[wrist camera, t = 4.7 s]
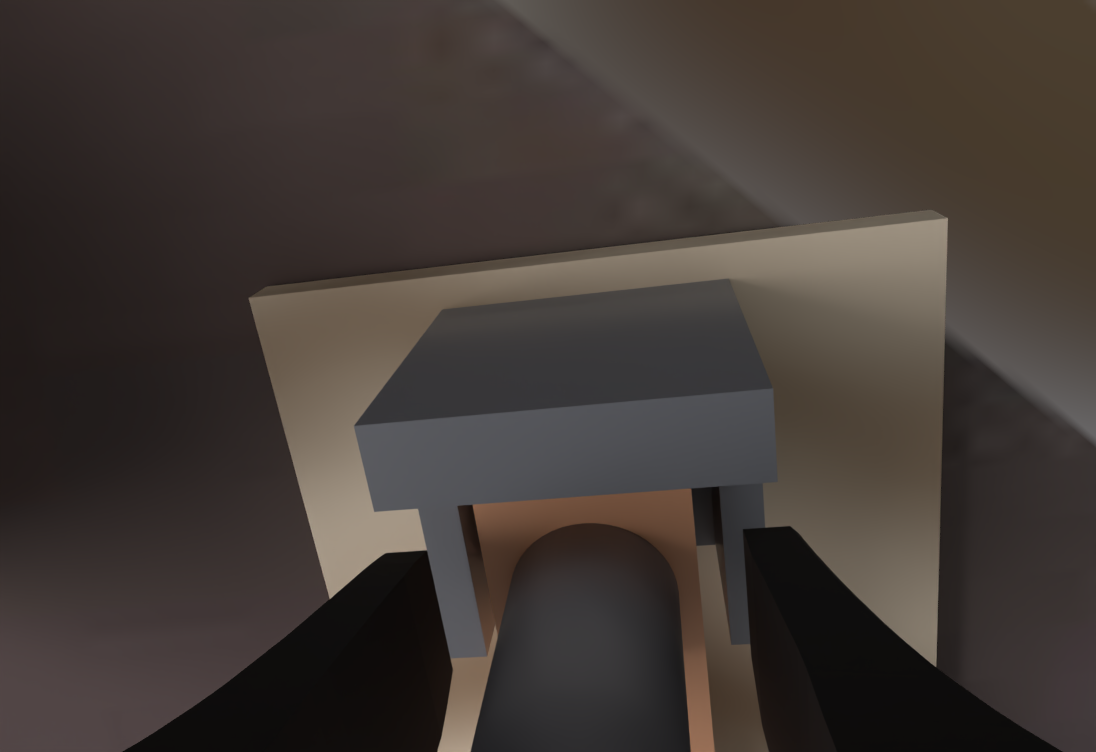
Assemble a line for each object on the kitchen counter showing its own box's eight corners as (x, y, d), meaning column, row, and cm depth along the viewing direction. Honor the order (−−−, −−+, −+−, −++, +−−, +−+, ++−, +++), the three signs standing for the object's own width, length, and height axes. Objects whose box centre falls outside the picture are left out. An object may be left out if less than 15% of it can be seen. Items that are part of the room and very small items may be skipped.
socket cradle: (745, 525, 16) (789, 721, 11) (486, 542, 17) (426, 733, 12) (729, 278, 14) (773, 388, 10) (441, 309, 15) (353, 426, 10)
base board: (916, 976, 21) (927, 1011, 20) (446, 973, 22) (439, 1005, 22) (931, 209, 14) (947, 217, 14) (266, 286, 16) (248, 297, 15)
